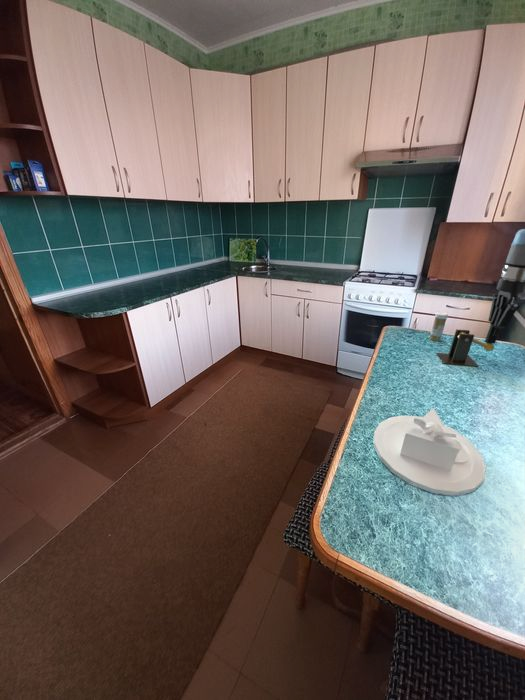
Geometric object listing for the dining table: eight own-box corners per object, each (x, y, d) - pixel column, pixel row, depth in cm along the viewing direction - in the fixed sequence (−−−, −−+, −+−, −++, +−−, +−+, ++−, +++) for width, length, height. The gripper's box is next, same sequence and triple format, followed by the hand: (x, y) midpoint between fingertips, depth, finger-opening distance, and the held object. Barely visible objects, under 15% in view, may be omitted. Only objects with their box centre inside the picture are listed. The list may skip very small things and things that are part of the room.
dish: (490, 514, 58) (511, 476, 53) (363, 467, 70) (370, 431, 64) (479, 437, 78) (494, 403, 72) (381, 409, 89) (387, 378, 83)
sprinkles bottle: (426, 339, 133) (434, 311, 127) (437, 339, 133) (444, 311, 127) (431, 343, 129) (439, 315, 123) (442, 343, 129) (450, 315, 123)
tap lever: (487, 350, 111) (493, 343, 109) (491, 354, 108) (498, 347, 106) (455, 337, 111) (461, 330, 109) (458, 340, 108) (464, 333, 107)
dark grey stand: (467, 358, 116) (477, 328, 111) (477, 369, 109) (488, 338, 103) (435, 355, 119) (443, 326, 113) (442, 366, 111) (451, 336, 105)
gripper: (492, 274, 103) (471, 334, 114) (511, 283, 92) (486, 349, 103) (516, 275, 102) (492, 336, 113) (538, 284, 91) (510, 351, 101)
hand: (489, 342), depth 108 cm, fingers closed
